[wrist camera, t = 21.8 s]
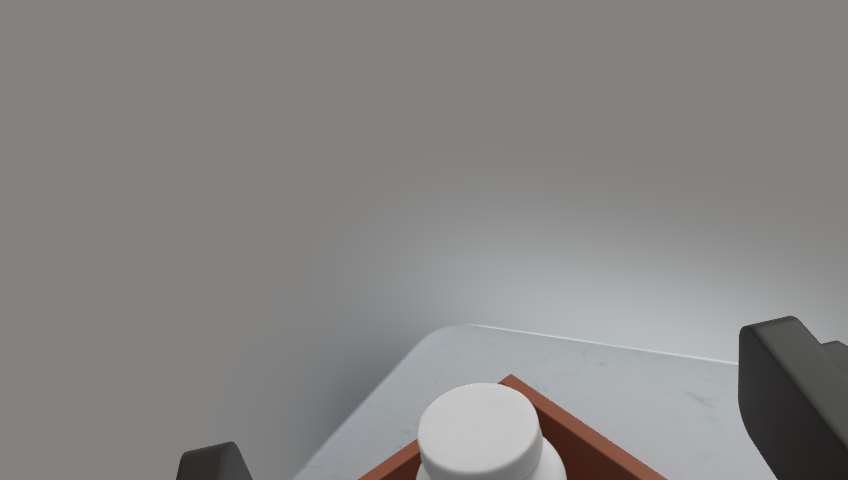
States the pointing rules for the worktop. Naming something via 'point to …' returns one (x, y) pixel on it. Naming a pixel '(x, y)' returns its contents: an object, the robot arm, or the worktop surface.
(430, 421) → the pill bottle
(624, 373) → the worktop surface
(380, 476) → the bin
